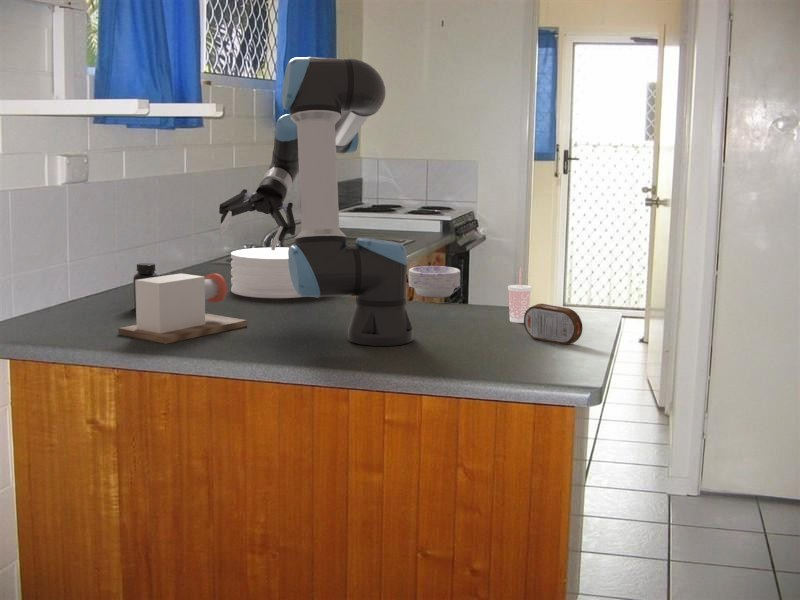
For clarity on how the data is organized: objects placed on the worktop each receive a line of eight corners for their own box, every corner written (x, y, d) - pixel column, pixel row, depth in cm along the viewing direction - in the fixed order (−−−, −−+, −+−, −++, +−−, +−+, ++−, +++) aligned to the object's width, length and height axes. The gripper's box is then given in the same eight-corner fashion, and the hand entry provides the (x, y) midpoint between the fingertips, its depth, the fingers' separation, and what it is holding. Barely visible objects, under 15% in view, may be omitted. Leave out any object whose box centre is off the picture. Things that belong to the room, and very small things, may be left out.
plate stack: (332, 297, 287) (333, 258, 285) (235, 299, 280) (234, 259, 279) (317, 282, 314) (317, 246, 312) (227, 284, 307) (227, 248, 305)
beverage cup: (510, 323, 251) (512, 268, 249) (503, 318, 257) (505, 265, 255) (533, 323, 252) (535, 268, 250) (526, 318, 258) (528, 265, 256)
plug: (206, 300, 246) (206, 272, 245) (227, 303, 242) (226, 274, 241) (163, 307, 235) (162, 278, 234) (184, 311, 231) (183, 281, 230)
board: (200, 318, 251) (200, 312, 251) (246, 326, 242) (246, 320, 242) (118, 334, 230) (118, 328, 230) (165, 343, 221) (165, 337, 221)
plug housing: (182, 320, 241) (181, 273, 239) (205, 324, 236) (204, 276, 234) (136, 329, 229) (135, 279, 227) (160, 333, 225) (159, 283, 223)
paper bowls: (423, 301, 282) (424, 273, 281) (399, 293, 295) (399, 267, 294) (469, 298, 289) (470, 271, 287) (443, 290, 302) (444, 264, 301)
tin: (582, 345, 227) (584, 309, 225) (574, 347, 224) (576, 311, 223) (528, 335, 237) (530, 301, 235) (520, 337, 235) (522, 302, 233)
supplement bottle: (153, 311, 260) (151, 266, 258) (129, 310, 261) (127, 265, 259) (164, 307, 266) (163, 262, 264) (140, 305, 268) (139, 261, 266)
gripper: (317, 212, 264) (293, 263, 249) (228, 186, 265) (198, 235, 250) (320, 191, 259) (296, 241, 244) (229, 164, 260) (200, 213, 245)
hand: (247, 238), depth 247 cm, fingers open, 13 cm apart
